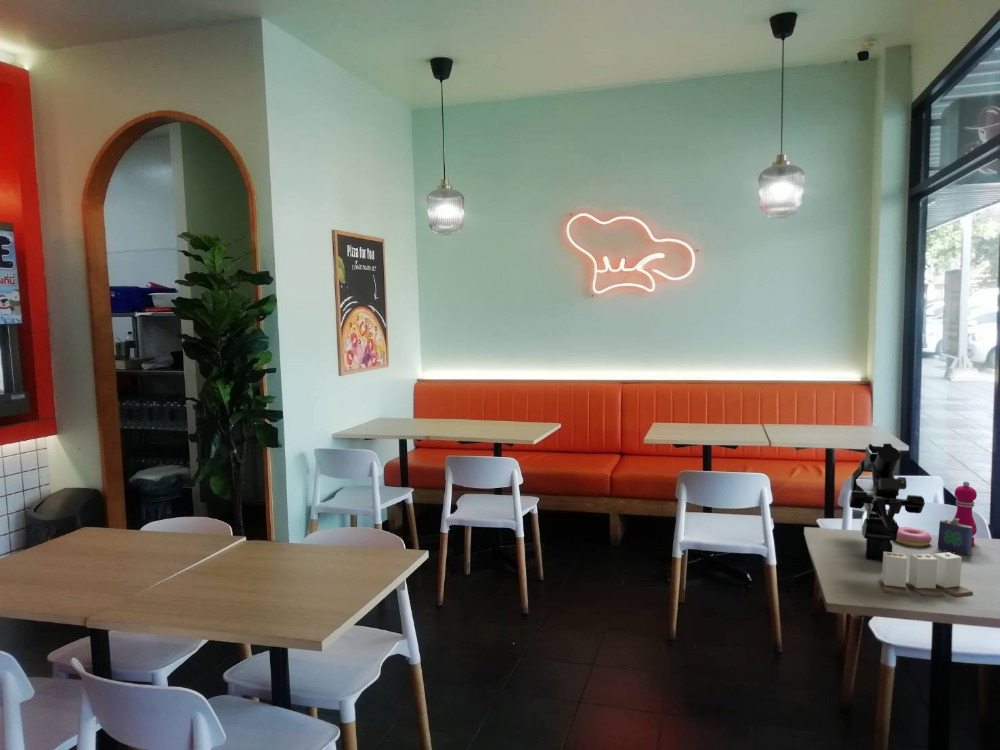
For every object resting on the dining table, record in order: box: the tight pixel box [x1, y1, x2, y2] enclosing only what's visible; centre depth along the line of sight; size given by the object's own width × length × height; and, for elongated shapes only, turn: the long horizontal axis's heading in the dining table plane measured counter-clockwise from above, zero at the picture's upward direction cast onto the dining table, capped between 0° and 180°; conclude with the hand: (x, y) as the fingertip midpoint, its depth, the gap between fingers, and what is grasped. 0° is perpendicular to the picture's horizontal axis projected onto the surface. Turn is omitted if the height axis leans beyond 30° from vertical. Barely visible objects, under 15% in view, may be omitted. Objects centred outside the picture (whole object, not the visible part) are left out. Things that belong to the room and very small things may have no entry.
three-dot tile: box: [881, 551, 908, 587], centre depth 193 cm, size 4×5×8 cm
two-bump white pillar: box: [908, 553, 937, 588], centre depth 192 cm, size 4×5×8 cm
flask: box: [937, 517, 973, 556], centre depth 221 cm, size 9×3×11 cm, turn 37°
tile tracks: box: [878, 578, 974, 598], centre depth 192 cm, size 22×16×1 cm
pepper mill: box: [951, 480, 978, 545], centre depth 230 cm, size 7×7×20 cm
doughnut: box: [895, 526, 933, 547], centre depth 230 cm, size 11×11×4 cm
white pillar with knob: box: [933, 551, 963, 588], centre depth 192 cm, size 4×5×8 cm
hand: (888, 528), depth 202 cm, fingers closed
